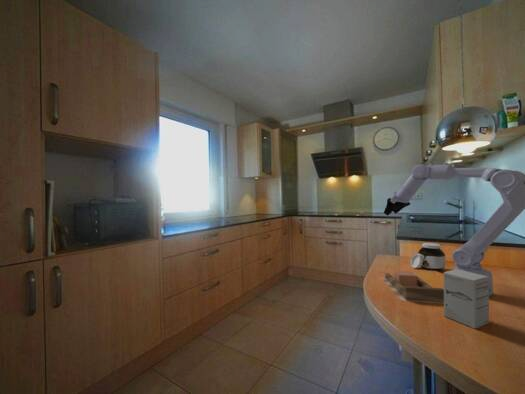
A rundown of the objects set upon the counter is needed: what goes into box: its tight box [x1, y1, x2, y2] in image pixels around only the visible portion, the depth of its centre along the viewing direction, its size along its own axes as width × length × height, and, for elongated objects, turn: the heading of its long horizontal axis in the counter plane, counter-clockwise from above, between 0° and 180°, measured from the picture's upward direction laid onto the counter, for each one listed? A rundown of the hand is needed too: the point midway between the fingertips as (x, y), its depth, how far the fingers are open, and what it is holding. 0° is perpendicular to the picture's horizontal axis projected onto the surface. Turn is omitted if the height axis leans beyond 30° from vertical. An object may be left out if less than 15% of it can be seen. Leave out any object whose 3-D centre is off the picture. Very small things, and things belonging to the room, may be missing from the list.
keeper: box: [393, 270, 418, 287], centre depth 88 cm, size 5×6×4 cm
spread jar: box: [410, 242, 447, 272], centre depth 108 cm, size 12×11×12 cm
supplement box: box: [443, 268, 490, 330], centre depth 63 cm, size 7×7×13 cm
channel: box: [381, 272, 444, 305], centre depth 83 cm, size 22×14×5 cm, turn 168°
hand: (389, 213), depth 106 cm, fingers open, 7 cm apart
